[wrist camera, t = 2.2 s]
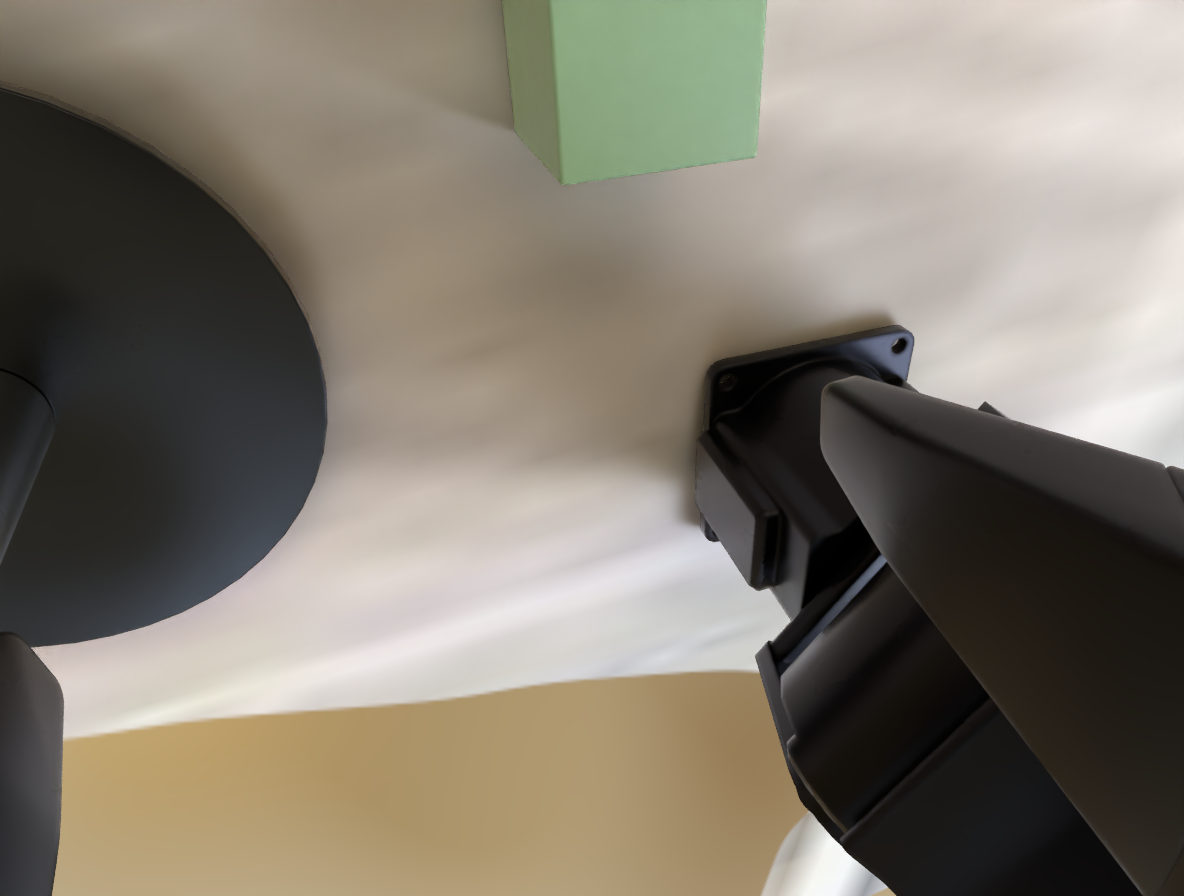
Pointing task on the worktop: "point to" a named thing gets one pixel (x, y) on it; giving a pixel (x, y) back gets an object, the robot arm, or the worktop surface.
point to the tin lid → (137, 382)
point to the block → (634, 83)
